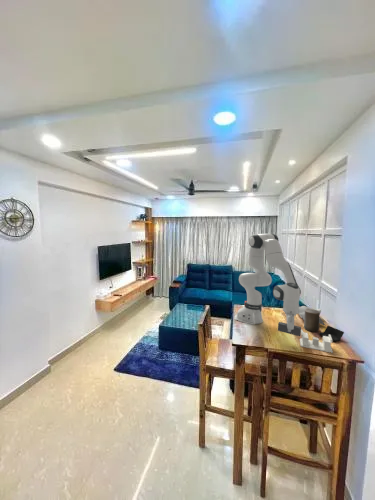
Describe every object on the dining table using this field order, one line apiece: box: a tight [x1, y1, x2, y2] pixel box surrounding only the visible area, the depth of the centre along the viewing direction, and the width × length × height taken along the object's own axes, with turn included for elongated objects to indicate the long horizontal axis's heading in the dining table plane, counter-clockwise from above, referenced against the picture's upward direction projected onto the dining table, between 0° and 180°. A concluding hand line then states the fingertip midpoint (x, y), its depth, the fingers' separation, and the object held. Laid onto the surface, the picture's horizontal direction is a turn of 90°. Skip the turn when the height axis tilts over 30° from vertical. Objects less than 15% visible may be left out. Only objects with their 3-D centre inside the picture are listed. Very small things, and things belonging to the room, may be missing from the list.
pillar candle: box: [303, 308, 321, 333], centre depth 161 cm, size 10×10×15 cm
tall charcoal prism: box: [277, 321, 302, 337], centre depth 138 cm, size 13×3×5 cm, turn 58°
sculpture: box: [297, 305, 327, 327], centre depth 181 cm, size 25×19×10 cm
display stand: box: [299, 328, 333, 354], centre depth 136 cm, size 17×10×8 cm, turn 65°
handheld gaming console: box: [318, 325, 345, 342], centre depth 148 cm, size 11×10×4 cm
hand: (289, 329), depth 138 cm, fingers closed on tall charcoal prism, 3 cm apart
